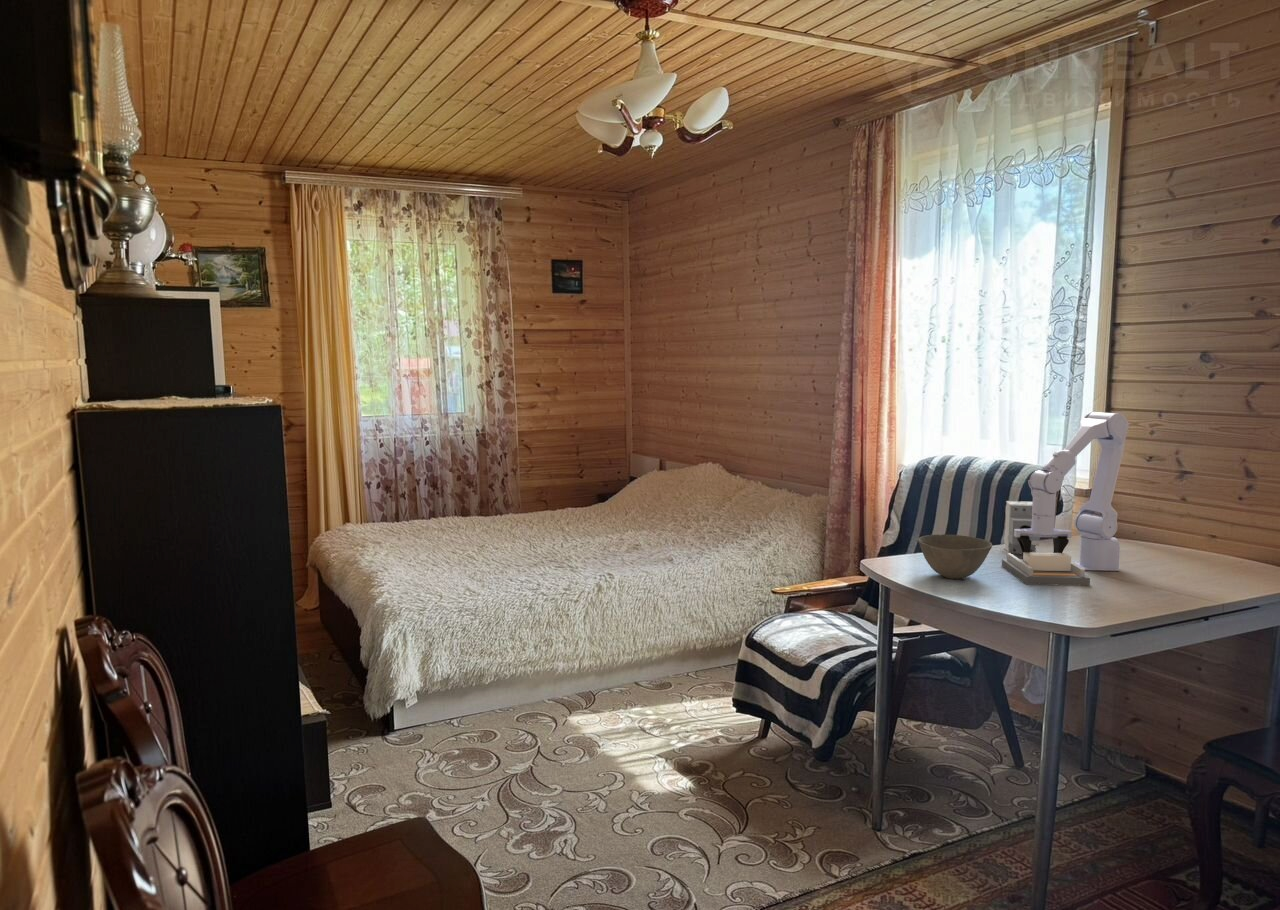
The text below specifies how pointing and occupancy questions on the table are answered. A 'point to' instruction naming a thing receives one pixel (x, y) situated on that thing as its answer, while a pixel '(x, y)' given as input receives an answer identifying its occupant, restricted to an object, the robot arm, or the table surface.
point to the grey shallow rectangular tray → (1044, 573)
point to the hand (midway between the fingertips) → (1041, 562)
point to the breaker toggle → (1048, 561)
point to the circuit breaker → (1018, 525)
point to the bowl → (954, 554)
